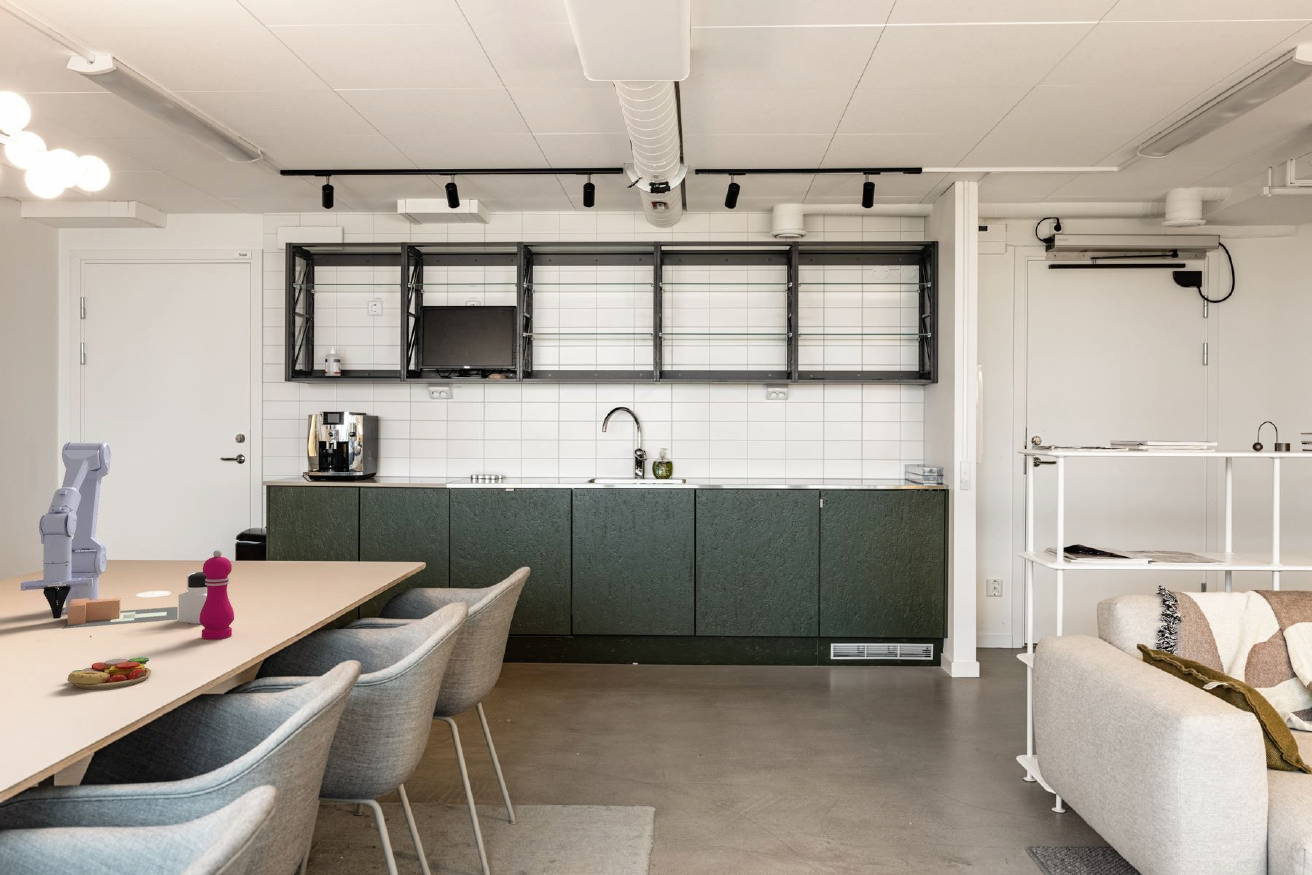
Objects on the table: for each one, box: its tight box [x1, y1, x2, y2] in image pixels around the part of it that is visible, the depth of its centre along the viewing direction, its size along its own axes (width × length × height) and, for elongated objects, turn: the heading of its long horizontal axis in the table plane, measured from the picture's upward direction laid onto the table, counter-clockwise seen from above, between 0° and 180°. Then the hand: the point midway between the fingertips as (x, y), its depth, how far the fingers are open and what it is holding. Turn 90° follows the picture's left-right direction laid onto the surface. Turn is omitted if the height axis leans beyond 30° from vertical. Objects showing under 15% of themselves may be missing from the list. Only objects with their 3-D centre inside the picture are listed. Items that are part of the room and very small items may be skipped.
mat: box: [61, 606, 179, 630], centre depth 224 cm, size 18×24×1 cm
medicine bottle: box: [177, 571, 207, 625], centre depth 222 cm, size 7×7×12 cm
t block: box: [67, 597, 121, 625], centre depth 221 cm, size 10×10×4 cm
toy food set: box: [66, 656, 153, 690], centre depth 169 cm, size 13×13×3 cm
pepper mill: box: [199, 549, 235, 641], centre depth 205 cm, size 7×7×20 cm
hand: (57, 617), depth 217 cm, fingers closed
